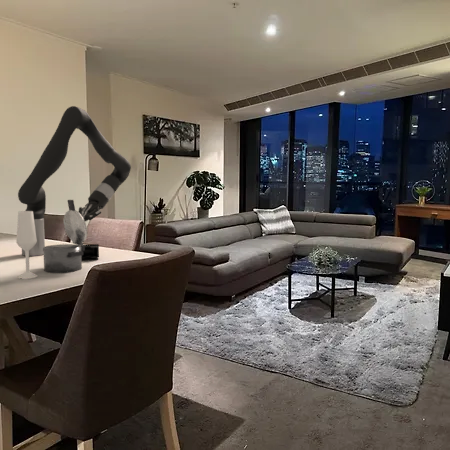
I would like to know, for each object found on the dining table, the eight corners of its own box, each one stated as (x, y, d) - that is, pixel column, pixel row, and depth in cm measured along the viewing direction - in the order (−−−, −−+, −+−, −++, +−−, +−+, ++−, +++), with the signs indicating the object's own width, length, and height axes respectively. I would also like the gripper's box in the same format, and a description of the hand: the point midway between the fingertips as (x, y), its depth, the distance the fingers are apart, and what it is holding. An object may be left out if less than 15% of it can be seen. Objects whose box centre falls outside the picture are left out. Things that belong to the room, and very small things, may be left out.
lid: (67, 243, 170) (69, 242, 171) (87, 246, 161) (89, 245, 162) (59, 199, 165) (61, 199, 166) (79, 200, 157) (82, 200, 158)
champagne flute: (30, 273, 152) (28, 210, 150) (41, 276, 149) (39, 211, 146) (13, 277, 146) (11, 211, 144) (24, 279, 143) (22, 212, 141)
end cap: (98, 257, 187) (98, 243, 187) (99, 260, 181) (99, 245, 180) (75, 258, 184) (75, 244, 183) (76, 261, 177) (75, 246, 176)
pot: (68, 262, 174) (67, 242, 173) (96, 268, 162) (96, 246, 161) (33, 268, 161) (32, 246, 160) (61, 275, 150) (60, 251, 149)
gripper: (86, 189, 175) (62, 219, 166) (106, 189, 167) (81, 221, 159) (97, 201, 180) (73, 230, 171) (116, 202, 172) (93, 233, 164)
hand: (77, 226), depth 165 cm, fingers closed
